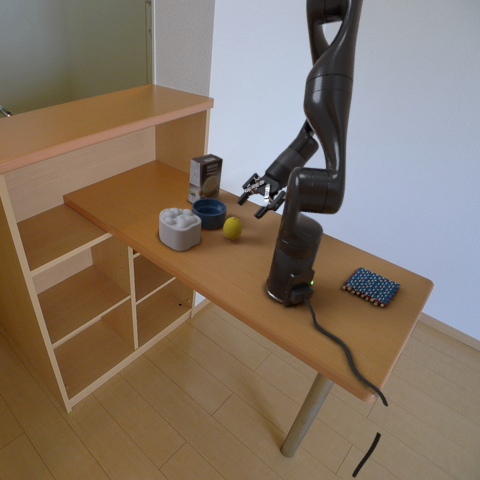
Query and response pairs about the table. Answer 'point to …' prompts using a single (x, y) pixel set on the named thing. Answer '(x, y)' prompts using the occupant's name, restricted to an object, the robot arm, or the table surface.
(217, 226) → the bowl
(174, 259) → the table surface
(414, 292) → the table surface
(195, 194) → the coffee box
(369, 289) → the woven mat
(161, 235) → the paw print block
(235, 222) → the lemon
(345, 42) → the robot arm
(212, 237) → the table surface
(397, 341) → the table surface
